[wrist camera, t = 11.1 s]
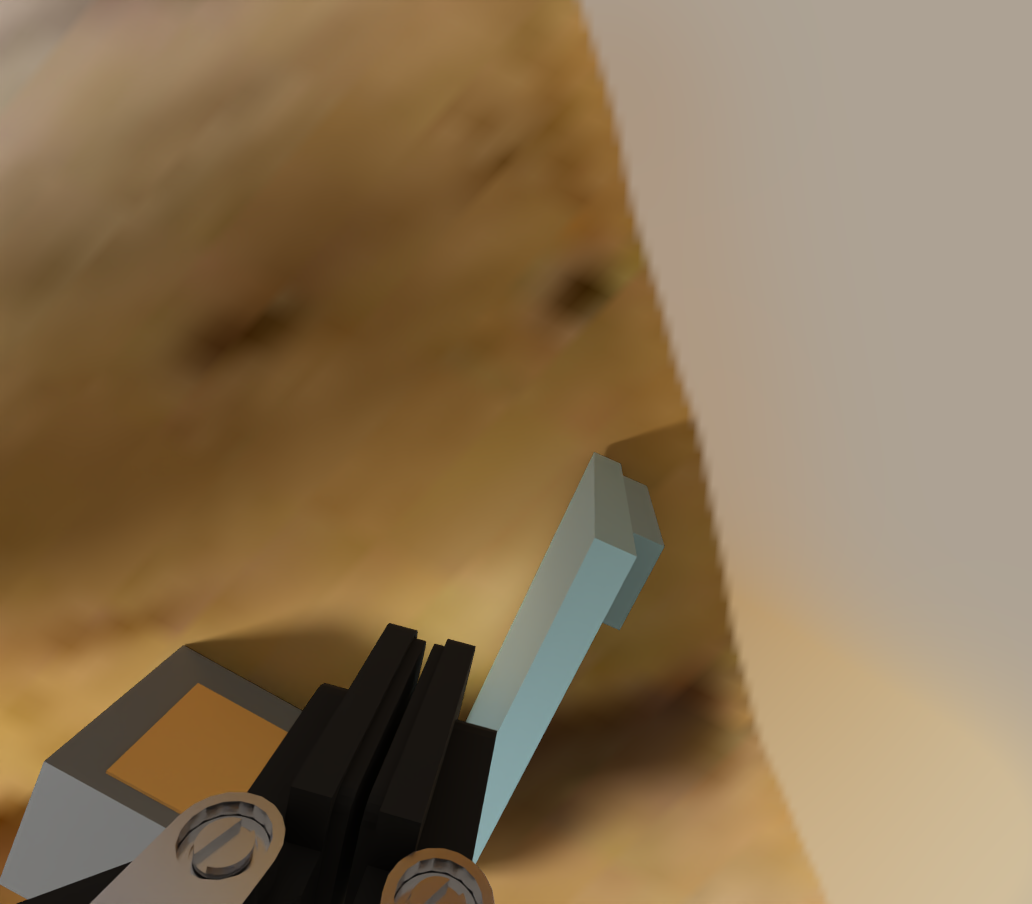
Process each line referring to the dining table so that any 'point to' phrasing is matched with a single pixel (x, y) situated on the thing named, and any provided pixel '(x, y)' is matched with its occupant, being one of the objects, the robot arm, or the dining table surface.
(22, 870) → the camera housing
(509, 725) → the side door
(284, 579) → the dining table surface
